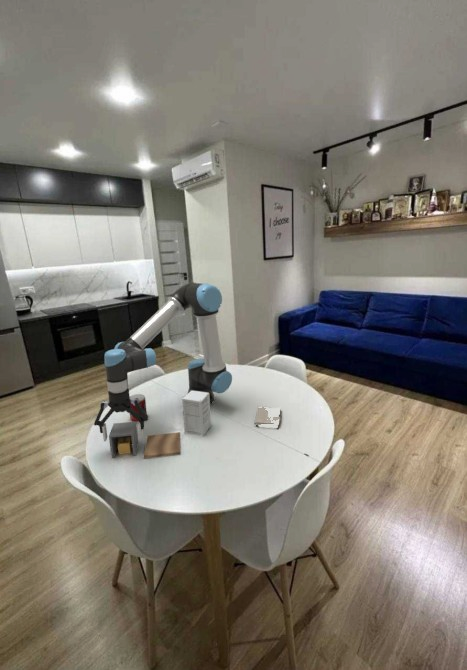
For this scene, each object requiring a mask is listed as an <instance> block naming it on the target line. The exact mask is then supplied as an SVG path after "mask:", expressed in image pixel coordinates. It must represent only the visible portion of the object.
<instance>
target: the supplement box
mask: <svg viewBox="0 0 467 670" xmlns="http://www.w3.org/2000/svg"><path fill="white" fill-rule="evenodd" d="M187 393H188V392H187ZM181 400H182V415H183V416H182V417H183V427H184V433H185V434H191V435H197V436H201V437H203V436H204V435H205V434H206V433H207V432H208V429H210V427H211V426H212V423H211V422H212V421H211V417H212V416H211V404H210V396H209V393H207V392H200V391H192V390H191V391H190V392H189V393H188V394H186V395H185V396H184V397H182V399H181Z"/></svg>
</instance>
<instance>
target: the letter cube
mask: <svg viewBox="0 0 467 670" xmlns="http://www.w3.org/2000/svg"><path fill="white" fill-rule="evenodd" d="M117 450H118V455H122V454H131V452H132V450H133V447H132V440H131V437H125V438H120V439H119V442H118V447H117Z"/></svg>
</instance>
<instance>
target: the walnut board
mask: <svg viewBox="0 0 467 670" xmlns="http://www.w3.org/2000/svg"><path fill="white" fill-rule="evenodd" d="M178 455H181V432H180V431H179V432H178V431H177V432H169V433H158V434H150V435H149V434H148V435H147V436H146V441H145V448H144V453H143V459H153V458H163V457H169V456H170V457H171V456H178Z"/></svg>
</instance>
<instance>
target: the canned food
mask: <svg viewBox="0 0 467 670" xmlns="http://www.w3.org/2000/svg"><path fill="white" fill-rule="evenodd" d="M129 396H130V400H135V399H136V398H138V400H139V404H140V405H141V406H142V408H143V409H144V411H145V412H146V414H147V412H148V411H147V401H146V396H145V395H144V394H142V393H138V394H137V393H135V394H132V395H129ZM130 406H131V407H132V408H133V409H134V410H135V411H136V412H137V413H139V412H138V410H137V409H136V407H135V405H133V404H132V403H131V404H130ZM139 414H140V413H139ZM140 415H141V414H140ZM147 415H148V414H147ZM129 419H130V421H131V422H135V421H136V423H139V421H138V420H137V419H136V418H134V417H133V416H132V415H131V414H130V413H129Z"/></svg>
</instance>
